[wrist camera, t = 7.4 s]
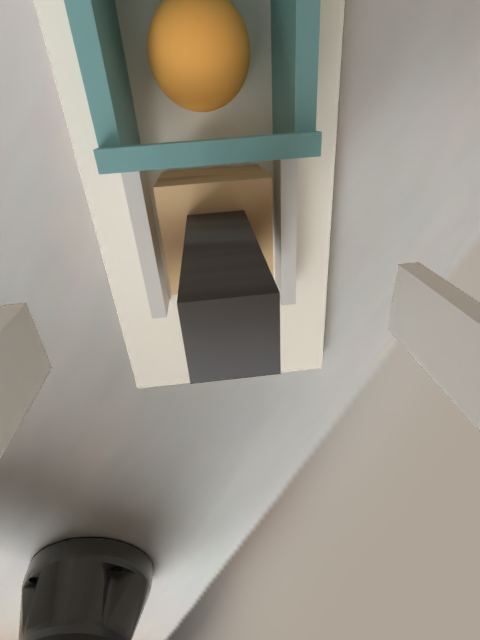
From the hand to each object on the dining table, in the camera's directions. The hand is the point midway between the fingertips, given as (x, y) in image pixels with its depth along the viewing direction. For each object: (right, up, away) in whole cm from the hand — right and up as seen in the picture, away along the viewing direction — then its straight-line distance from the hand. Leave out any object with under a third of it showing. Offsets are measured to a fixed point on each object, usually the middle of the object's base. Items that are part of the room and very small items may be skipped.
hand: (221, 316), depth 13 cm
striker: (-1, +7, +11) cm, 13 cm away
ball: (-1, +13, +5) cm, 14 cm away
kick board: (-1, +8, +13) cm, 15 cm away
